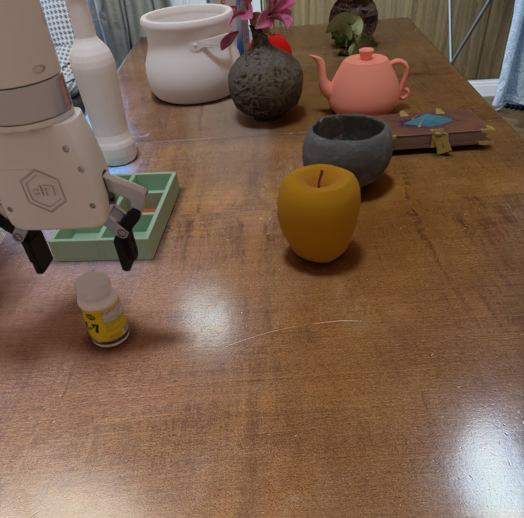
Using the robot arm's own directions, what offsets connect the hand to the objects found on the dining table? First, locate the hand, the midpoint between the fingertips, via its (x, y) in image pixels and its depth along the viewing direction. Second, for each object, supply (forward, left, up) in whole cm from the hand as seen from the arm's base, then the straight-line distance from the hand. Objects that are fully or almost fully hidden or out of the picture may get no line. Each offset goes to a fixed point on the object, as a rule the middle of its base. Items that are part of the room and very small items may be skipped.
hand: (87, 265), depth 55 cm
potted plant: (+38, +125, -11) cm, 131 cm away
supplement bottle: (0, 0, -11) cm, 11 cm away
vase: (+15, +74, -11) cm, 76 cm away
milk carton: (+2, +125, -11) cm, 126 cm away
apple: (+26, +17, -11) cm, 33 cm away
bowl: (+31, +39, -11) cm, 51 cm away
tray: (-6, +28, -11) cm, 31 cm away
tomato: (+15, +107, -11) cm, 109 cm away
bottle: (-14, +54, -11) cm, 57 cm away
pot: (-4, +95, -11) cm, 96 cm away
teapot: (+36, +75, -11) cm, 84 cm away
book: (+46, +57, -11) cm, 74 cm away
